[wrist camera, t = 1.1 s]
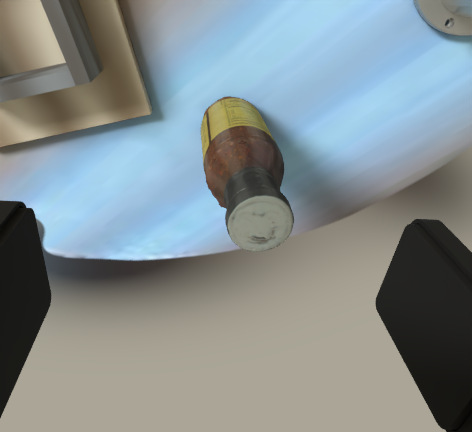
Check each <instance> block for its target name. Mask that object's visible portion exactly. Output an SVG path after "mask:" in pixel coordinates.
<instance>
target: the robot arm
mask: <svg viewBox="0 0 472 432" xmlns="http://www.w3.org/2000/svg"><path fill="white" fill-rule="evenodd" d="M413 1H414V4H415V6H416V8H417V10H418V12H419V14H420V15H421V16H422V17H423V19H424V20H425V21H426V22H427V23H428V24H429V25H431V26H432V27H433V28H435V29H436V30H439V31H442V32H444V33H447V34H452V35H457V36H471V35H472V0H413ZM446 21H447V22H446ZM445 22H446V24H445ZM50 303H51V290H50V286H49V281H48V276H47V271H46V266H45V261H44V257H43V252H42V247H41V242H40V237H39V233H38V228H37V223H36V218H35V214H34V211H33V209H31V208H26V206H25V204H24V203H23V202H19V201H0V418H1V415H2V413H3V411H4V408H5V406H6V404H7V402H8V400H9V397H10V395H11V393H12V390H13V388H14V386H15V384H16V382H17V379H18V377H19V375H20V372H21V370H22V368H23V366H24V363H25V361H26V359H27V357H28V354H29V352H30V350H31V348H32V345H33V343H34V341H35V339H36V336H37V334H38V332H39V330H40V327H41V325H42V323H43V321H44V318H45V316H46V314H47V312H48V309H49V307H50ZM376 309H377V311H378V313H379V315H380V317H381V319H382V321H383V323H384V324H385V326H386V328H387V330H388V332H389V334H390V336H391V338H392V340H393V341H394V343H395V345H396V347H397V349H398V351H399V353H400V355H401V356H402V358H403V360H404V362H405V364H406V366H407V368H408V369H409V371H410V373H411V375H412V377H413V379H414V381H415V383H416V384H417V386H418V388H419V390H420V392H421V394H422V396H423V398H424V399H425V401H426V403H427V405H428V407H429V409H430V410H431V412H432V414H433V416H434V418H435V420H436V422H437V423H438V425H439V426H440V427H441V428H442V429H445V430H446V432H472V252H471V251H470V250H468V248H467V247H466V246H465V245H464V244H463V243H462V242H461V241H460V240H459V239H458V238H457V237H456V236H455V235H454V234H453V233H452V232H451V231H450V230H449V229H448V228H447V227H446V226H445V225H444V224H443V223H442V222H440V221H439V220H427V219H416V220H414V221H413V222H412V223H411V224H409V225H407V226H406V227H405V229H404V232H403V234H402V236H401V239H400V241H399V244H398V246H397V248H396V251H395V253H394V256H393V258H392V261H391V263H390V266H389V268H388V271H387V273H386V275H385V278H384V280H383V283H382V285H381V287H380V290H379V292H378V295H377V297H376Z"/></svg>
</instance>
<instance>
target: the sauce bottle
mask: <svg viewBox="0 0 472 432" xmlns="http://www.w3.org/2000/svg"><path fill="white" fill-rule="evenodd" d="M201 139H202V150H203V164H204V171H205V174H206V182H207V184H208V188H209V189H210V190H211V192H212V194H213V196H214V197H215V198H216V199H217V200H218V202H219V205H220V206H221V207H224V208H226V209H227V211H226V217H225V219H226V226H227V230H228V233H229V235H230V237H231V239H232V241H233V242H234V243H235V244H236V245H238V246H239V247H241V248H242V249H245V250H248V251H253V252H257V251H265V250H269V249H272V248H274V247H277V246H279V245H280V244H281V243H283V242H284V241H285V240H286V239H287V238H288V236H289V235H290V233H291V231H292V227H293V223H294V217H293V213H292V210H291V207H290V204H289V202H288V200H287V199H286V197H285V196H284V195H283V194H282V193H281V192H280V186H281V183H282V179H283V175H284V163H283V158H282V154H281V152H280V149H279V148H278V146H277V144H276V142H275V140H274V139H273V137H272V135H271V133H270V132H269V130H268V128H267V126H266V124H265V123H264V121H263V119H262V117H261V115H260V113H259V112H258V110H257V109H256V108H255V107H254V106H253V105H252V104H251V103H249V102H248V101H245V100H243V99H240V98H236V97H224V98H222V99H220V100H217V101H216V102H215V103H213V104H212V105H211V106H210V107H209V108H208V109H207V110H206V112H205V114H204V117H203V121H202V125H201Z"/></svg>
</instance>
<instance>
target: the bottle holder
mask: <svg viewBox="0 0 472 432" xmlns="http://www.w3.org/2000/svg"><path fill="white" fill-rule="evenodd" d="M151 112H152V107H151V104H150V100H149V97H148V94H147V91H146V88H145V85H144V81H143V78H142V75H141V72H140V69H139V66H138V62H137V59H136V56H135V53H134V50H133V47H132V43H131V40H130V37H129V34H128V31H127V28H126V24H125V21H124V18H123V15H122V12H121V9H120V6H119V2H118V0H0V147H2V146H7V145H12V144H16V143H21V142H26V141H30V140H35V139H39V138H44V137H49V136H53V135H58V134H62V133H67V132H72V131H76V130H81V129H85V128H90V127H95V126H99V125H104V124H108V123H113V122H118V121H122V120H127V119H131V118H136V117H141V116H145V115H150V114H151Z"/></svg>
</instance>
